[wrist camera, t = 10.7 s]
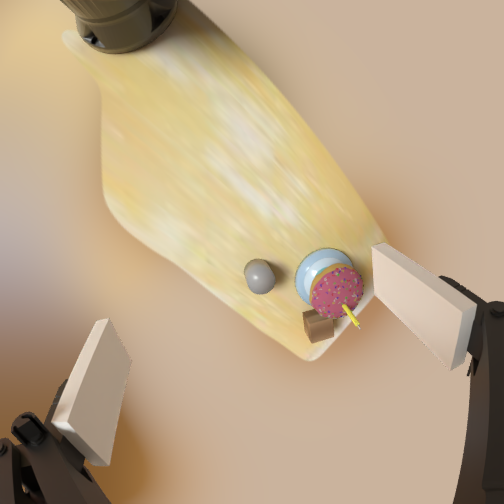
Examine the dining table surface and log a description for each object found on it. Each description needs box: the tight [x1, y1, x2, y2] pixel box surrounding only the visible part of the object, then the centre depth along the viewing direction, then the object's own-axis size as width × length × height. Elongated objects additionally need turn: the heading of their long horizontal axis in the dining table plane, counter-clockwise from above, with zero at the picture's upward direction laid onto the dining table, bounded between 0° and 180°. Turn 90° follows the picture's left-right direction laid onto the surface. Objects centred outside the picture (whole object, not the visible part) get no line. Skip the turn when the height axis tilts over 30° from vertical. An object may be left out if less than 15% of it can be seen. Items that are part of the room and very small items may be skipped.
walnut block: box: [303, 309, 334, 343], centre depth 50 cm, size 4×4×4 cm
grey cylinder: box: [244, 259, 275, 294], centre depth 45 cm, size 4×4×4 cm
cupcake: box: [309, 263, 364, 330], centre depth 43 cm, size 9×8×12 cm
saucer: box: [295, 248, 353, 306], centre depth 49 cm, size 10×10×1 cm
